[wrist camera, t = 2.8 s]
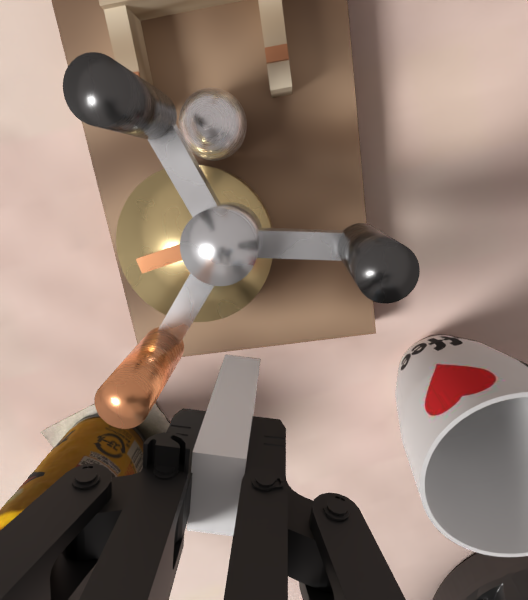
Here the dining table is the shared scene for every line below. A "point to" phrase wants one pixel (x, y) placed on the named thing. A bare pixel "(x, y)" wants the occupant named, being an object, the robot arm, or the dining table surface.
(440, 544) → the dining table surface
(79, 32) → the stand
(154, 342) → the capstan
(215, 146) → the ball
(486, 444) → the cup
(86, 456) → the condiment
